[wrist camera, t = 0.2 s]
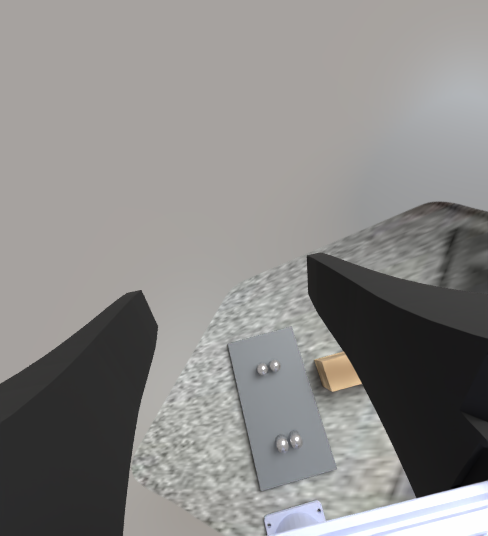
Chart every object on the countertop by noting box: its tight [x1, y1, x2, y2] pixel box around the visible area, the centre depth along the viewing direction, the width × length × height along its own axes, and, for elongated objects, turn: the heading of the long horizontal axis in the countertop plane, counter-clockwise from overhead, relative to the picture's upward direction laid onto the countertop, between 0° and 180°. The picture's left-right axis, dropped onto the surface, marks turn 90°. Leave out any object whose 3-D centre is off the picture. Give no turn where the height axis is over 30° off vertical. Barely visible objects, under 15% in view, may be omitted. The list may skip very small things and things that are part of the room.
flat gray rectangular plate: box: [228, 326, 337, 491], centre depth 35 cm, size 20×11×3 cm, turn 15°
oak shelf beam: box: [314, 352, 362, 392], centre depth 35 cm, size 4×14×5 cm, turn 104°
